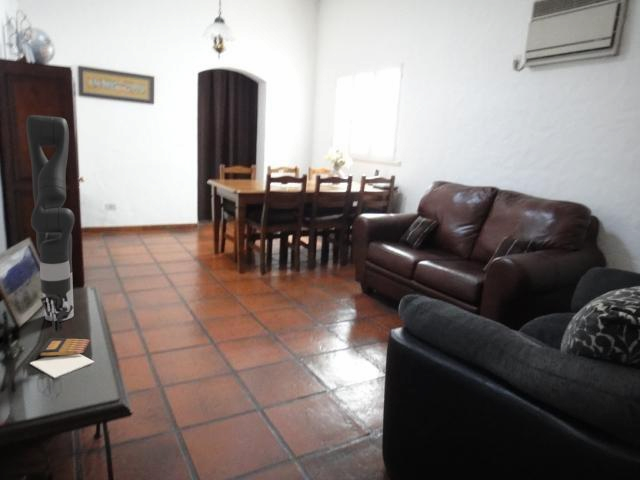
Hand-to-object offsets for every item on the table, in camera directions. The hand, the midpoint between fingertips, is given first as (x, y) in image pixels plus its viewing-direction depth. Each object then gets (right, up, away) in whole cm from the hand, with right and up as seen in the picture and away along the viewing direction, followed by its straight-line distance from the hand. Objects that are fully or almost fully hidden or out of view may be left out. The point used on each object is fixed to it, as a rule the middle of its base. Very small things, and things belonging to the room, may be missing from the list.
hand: (57, 330), depth 133 cm
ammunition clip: (-8, -7, +7) cm, 13 cm away
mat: (+1, -10, +1) cm, 10 cm away
